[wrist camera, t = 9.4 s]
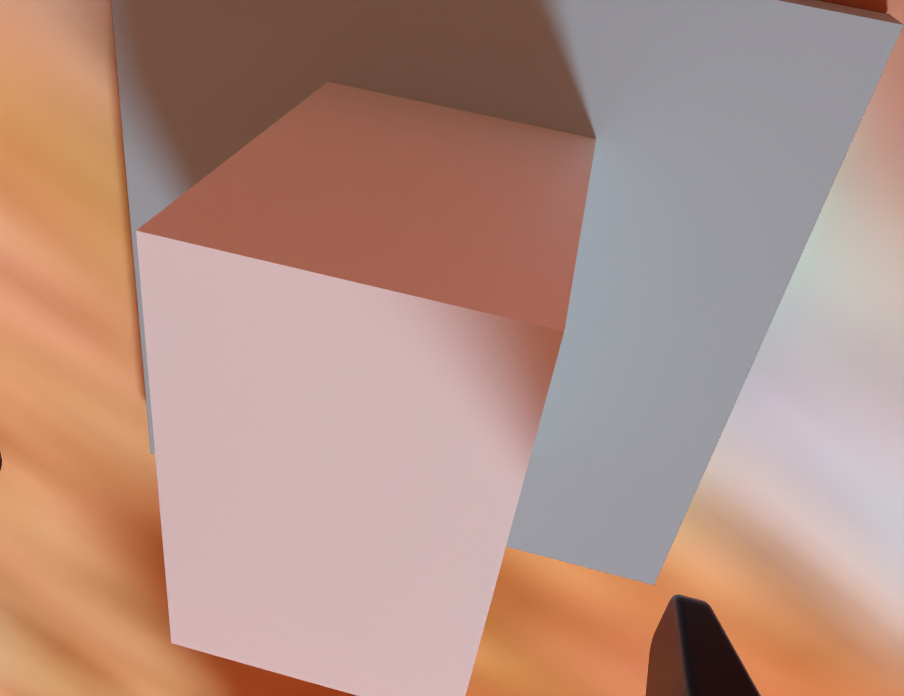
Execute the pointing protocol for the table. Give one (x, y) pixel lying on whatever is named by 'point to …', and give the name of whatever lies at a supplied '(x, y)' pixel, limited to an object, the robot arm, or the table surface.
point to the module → (355, 382)
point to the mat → (607, 204)
